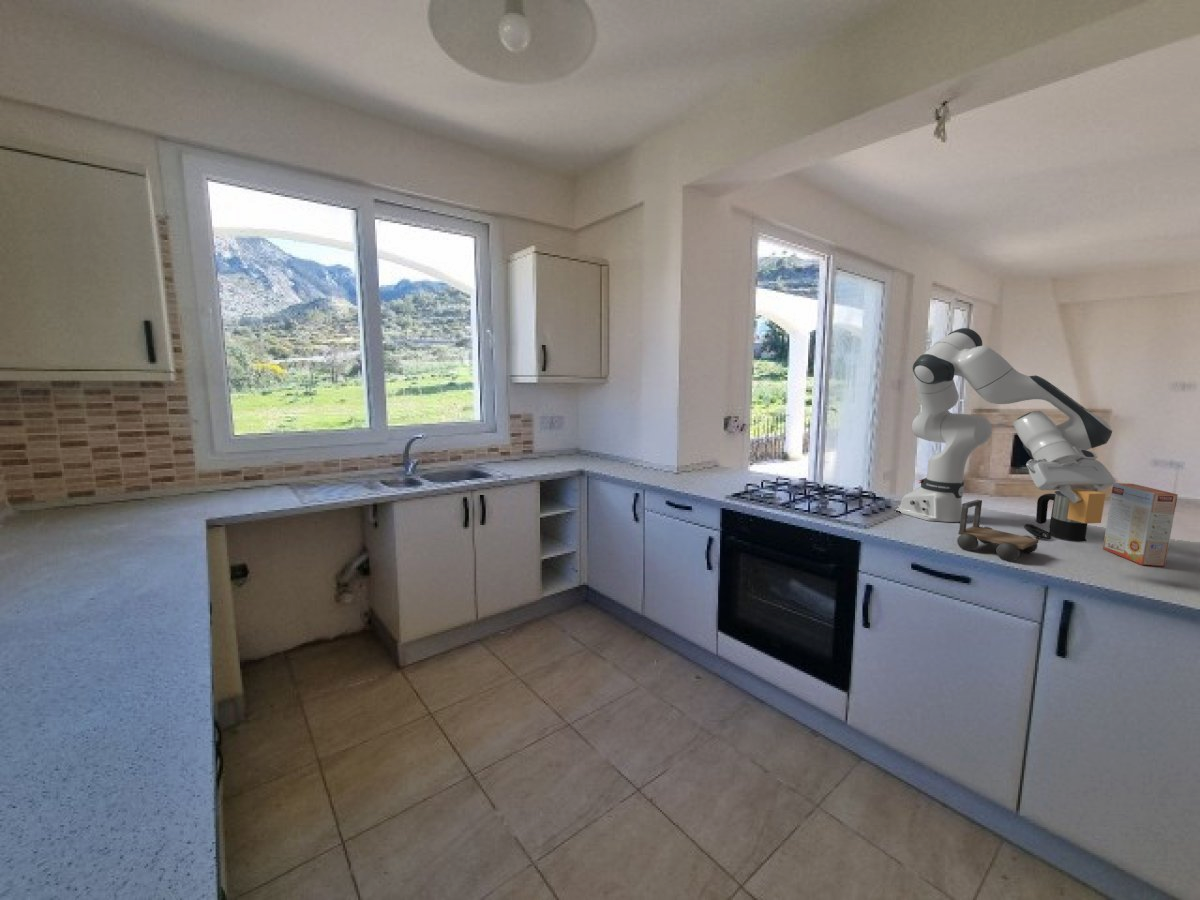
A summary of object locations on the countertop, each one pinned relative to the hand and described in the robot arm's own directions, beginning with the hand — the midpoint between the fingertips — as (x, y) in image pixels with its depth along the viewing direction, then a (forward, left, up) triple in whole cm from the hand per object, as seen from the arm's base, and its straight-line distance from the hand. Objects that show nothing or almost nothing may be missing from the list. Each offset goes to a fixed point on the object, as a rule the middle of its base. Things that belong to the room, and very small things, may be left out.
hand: (1088, 501), depth 131 cm
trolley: (-18, -1, -19) cm, 27 cm away
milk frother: (-14, +31, -20) cm, 39 cm away
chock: (0, 0, -5) cm, 5 cm away
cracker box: (+5, +27, -19) cm, 34 cm away
